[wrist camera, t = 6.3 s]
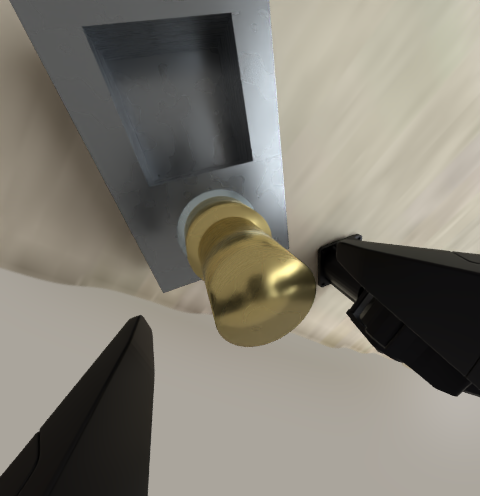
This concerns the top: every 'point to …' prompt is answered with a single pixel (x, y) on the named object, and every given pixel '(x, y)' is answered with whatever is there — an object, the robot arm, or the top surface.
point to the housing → (169, 109)
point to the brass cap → (246, 273)
